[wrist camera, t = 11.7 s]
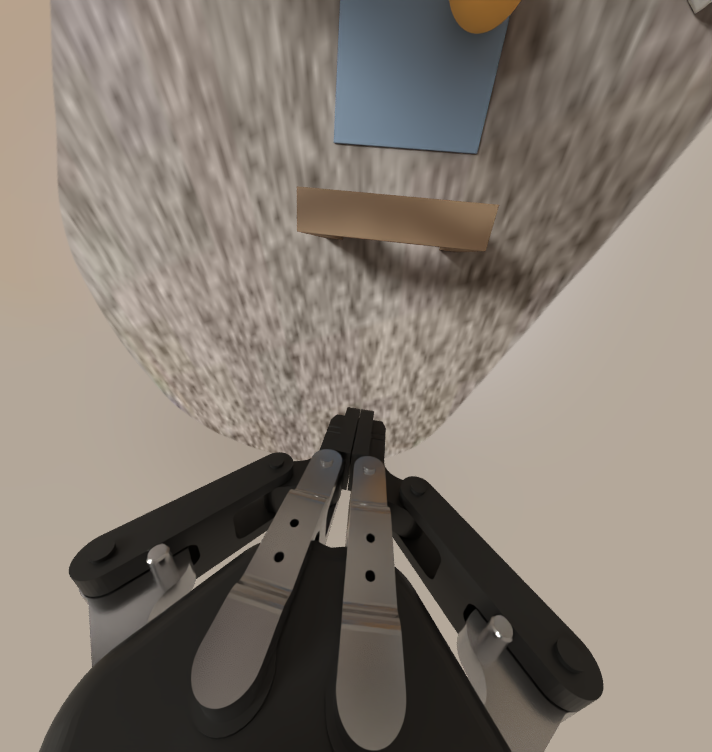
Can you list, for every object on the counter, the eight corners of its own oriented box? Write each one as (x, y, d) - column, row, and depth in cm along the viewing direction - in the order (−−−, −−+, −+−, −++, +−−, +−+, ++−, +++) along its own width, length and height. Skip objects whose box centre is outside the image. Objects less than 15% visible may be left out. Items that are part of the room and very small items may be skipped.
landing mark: (334, 143, 26) (333, 142, 26) (345, -95, 19) (344, -98, 19) (476, 154, 25) (477, 153, 24) (535, -94, 18) (536, -98, 18)
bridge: (457, 252, 28) (485, 251, 20) (325, 237, 29) (297, 231, 21) (465, 220, 27) (499, 204, 18) (326, 207, 28) (296, 186, 19)
